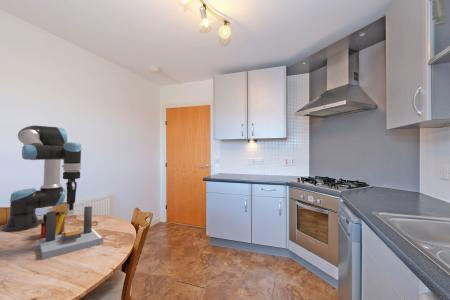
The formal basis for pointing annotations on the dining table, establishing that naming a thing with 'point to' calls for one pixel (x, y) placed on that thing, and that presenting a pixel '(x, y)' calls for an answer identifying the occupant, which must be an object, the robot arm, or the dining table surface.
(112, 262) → the dining table surface
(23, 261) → the dining table surface
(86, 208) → the post
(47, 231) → the cylinder
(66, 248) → the panel
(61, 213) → the mug
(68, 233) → the paddle
